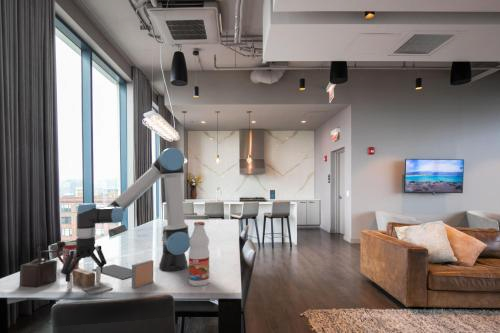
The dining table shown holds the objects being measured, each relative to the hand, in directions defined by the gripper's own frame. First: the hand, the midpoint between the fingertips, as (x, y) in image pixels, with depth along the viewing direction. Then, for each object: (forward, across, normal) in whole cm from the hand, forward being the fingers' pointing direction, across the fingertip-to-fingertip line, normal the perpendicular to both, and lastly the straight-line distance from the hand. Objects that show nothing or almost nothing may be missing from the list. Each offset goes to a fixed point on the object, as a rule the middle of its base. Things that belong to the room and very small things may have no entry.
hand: (84, 284), depth 134 cm
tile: (0, -15, +22) cm, 27 cm away
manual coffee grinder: (+1, +8, -22) cm, 23 cm away
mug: (0, -9, -36) cm, 37 cm away
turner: (0, 0, +4) cm, 4 cm away
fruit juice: (0, -31, +42) cm, 52 cm away
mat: (0, -20, -6) cm, 21 cm away
